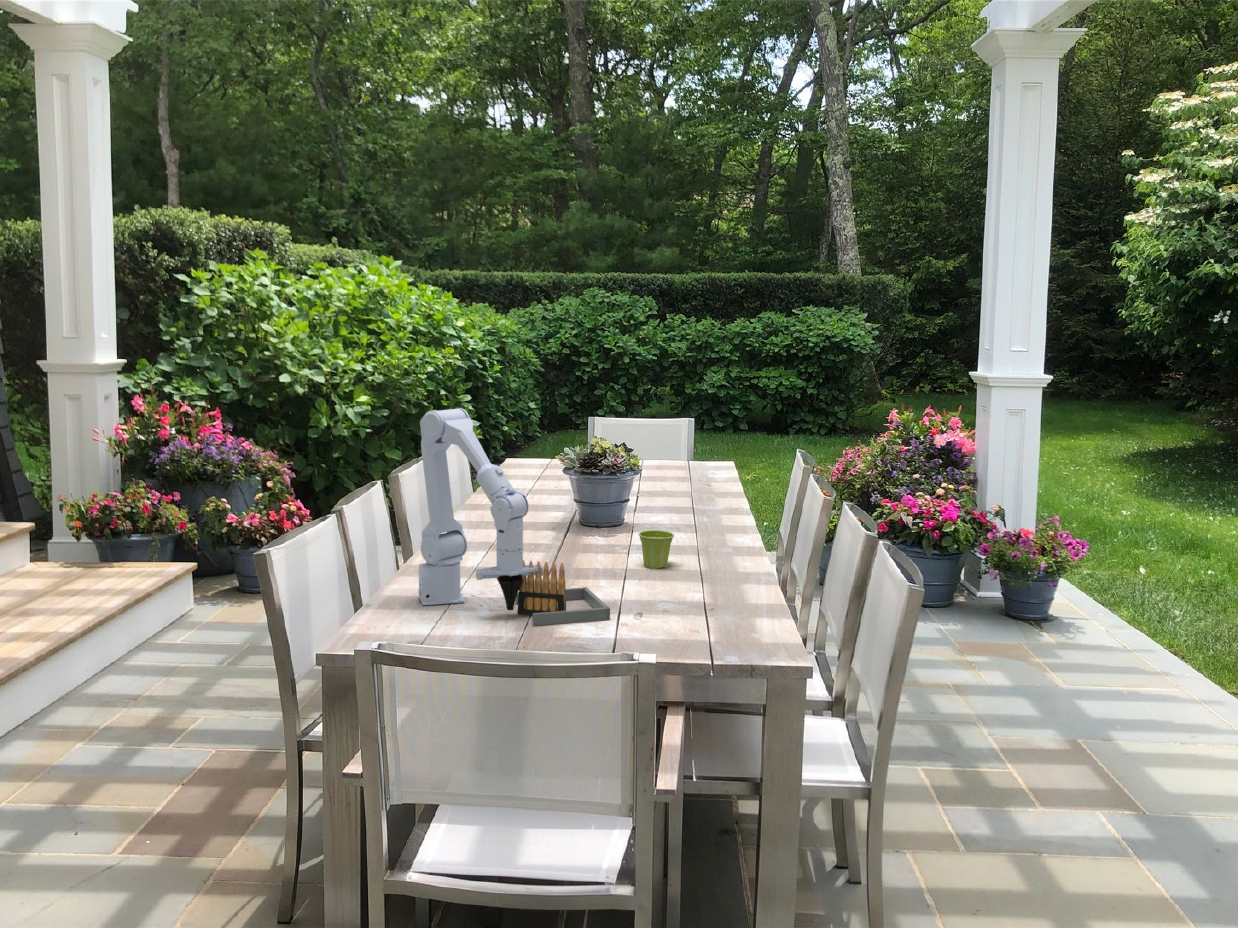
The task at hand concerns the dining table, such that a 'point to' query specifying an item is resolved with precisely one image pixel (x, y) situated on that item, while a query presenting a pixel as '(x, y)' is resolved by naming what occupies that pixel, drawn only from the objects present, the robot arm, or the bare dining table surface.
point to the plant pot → (656, 547)
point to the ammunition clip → (542, 591)
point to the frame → (573, 616)
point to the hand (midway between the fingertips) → (509, 608)
